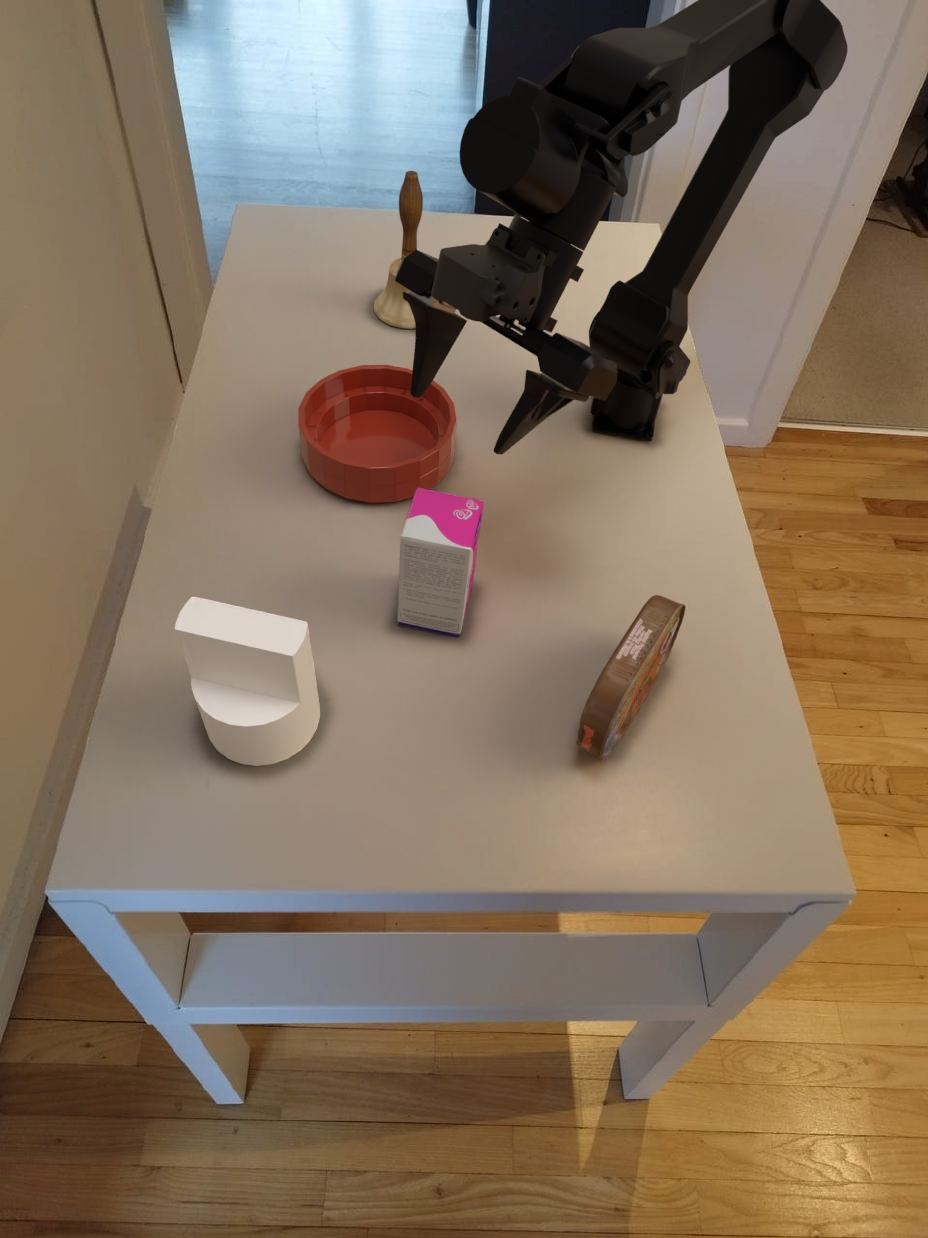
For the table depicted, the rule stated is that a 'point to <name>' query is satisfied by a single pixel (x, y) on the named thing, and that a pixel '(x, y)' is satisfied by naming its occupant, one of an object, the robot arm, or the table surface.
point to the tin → (629, 676)
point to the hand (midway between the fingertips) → (455, 424)
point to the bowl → (376, 433)
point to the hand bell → (402, 257)
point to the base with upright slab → (250, 679)
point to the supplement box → (438, 561)
